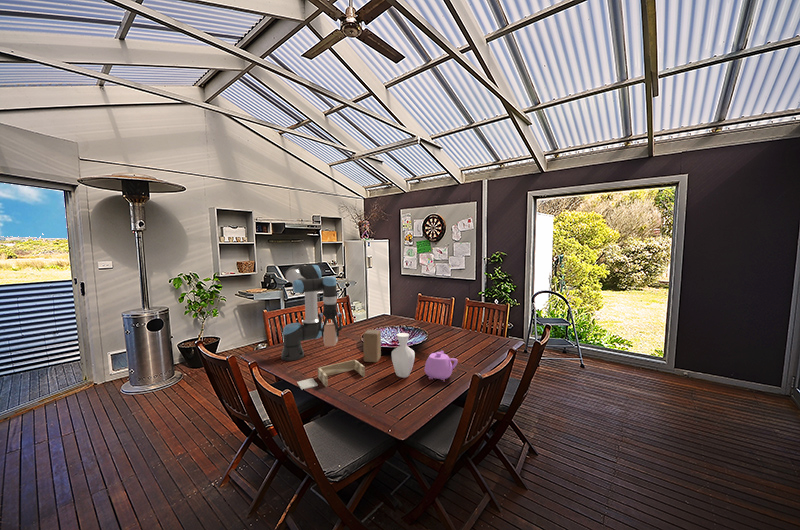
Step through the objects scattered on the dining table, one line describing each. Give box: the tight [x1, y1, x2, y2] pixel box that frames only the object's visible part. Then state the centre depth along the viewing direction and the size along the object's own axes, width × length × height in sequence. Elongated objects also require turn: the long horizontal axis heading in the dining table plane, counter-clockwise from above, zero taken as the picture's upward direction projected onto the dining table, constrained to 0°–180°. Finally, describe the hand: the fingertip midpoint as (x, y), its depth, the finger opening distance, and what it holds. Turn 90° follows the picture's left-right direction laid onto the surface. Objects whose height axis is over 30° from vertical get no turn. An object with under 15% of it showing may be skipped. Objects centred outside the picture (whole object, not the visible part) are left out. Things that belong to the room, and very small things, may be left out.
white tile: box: [296, 377, 319, 391], centre depth 171 cm, size 10×9×1 cm
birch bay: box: [317, 358, 366, 388], centre depth 180 cm, size 14×24×6 cm, turn 123°
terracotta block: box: [323, 322, 337, 347], centre depth 175 cm, size 6×6×12 cm
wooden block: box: [362, 328, 382, 363], centre depth 206 cm, size 10×10×20 cm
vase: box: [391, 332, 416, 378], centre depth 183 cm, size 14×14×25 cm
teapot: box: [424, 350, 458, 381], centre depth 182 cm, size 20×20×15 cm
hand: (330, 342), depth 176 cm, fingers closed on terracotta block, 6 cm apart
